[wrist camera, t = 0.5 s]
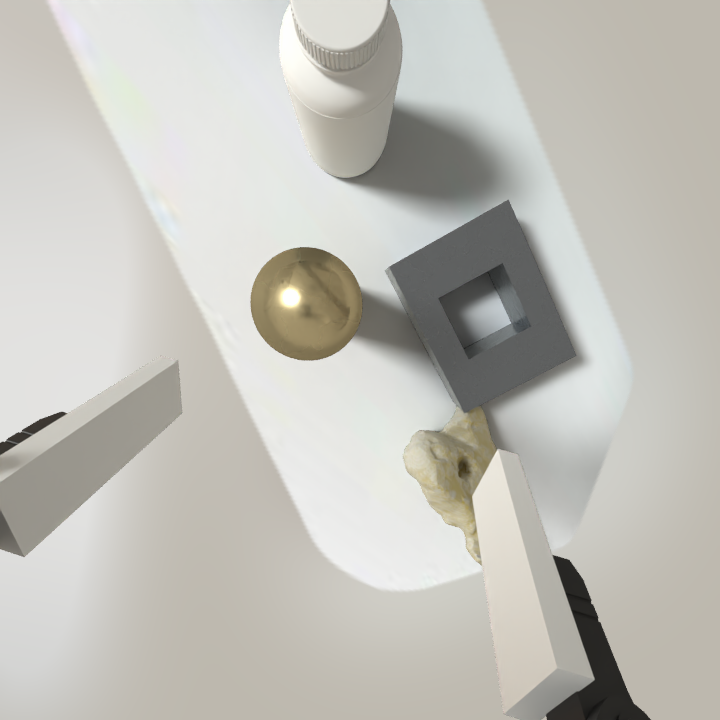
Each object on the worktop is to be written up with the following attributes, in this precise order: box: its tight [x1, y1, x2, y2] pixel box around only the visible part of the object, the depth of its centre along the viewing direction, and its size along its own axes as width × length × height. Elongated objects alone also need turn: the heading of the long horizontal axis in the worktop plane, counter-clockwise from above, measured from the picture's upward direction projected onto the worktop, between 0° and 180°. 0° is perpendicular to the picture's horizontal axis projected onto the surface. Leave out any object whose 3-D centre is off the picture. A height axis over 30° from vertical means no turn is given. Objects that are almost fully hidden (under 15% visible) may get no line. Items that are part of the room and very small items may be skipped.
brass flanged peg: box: [251, 247, 362, 360], centre depth 27 cm, size 6×6×16 cm
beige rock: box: [403, 406, 497, 566], centre depth 35 cm, size 15×7×15 cm
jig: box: [385, 200, 576, 413], centre depth 33 cm, size 16×12×4 cm
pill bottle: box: [279, 0, 402, 178], centre depth 25 cm, size 8×8×15 cm
